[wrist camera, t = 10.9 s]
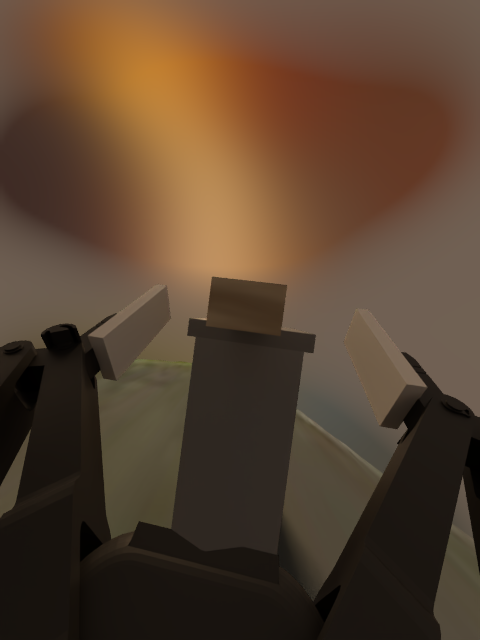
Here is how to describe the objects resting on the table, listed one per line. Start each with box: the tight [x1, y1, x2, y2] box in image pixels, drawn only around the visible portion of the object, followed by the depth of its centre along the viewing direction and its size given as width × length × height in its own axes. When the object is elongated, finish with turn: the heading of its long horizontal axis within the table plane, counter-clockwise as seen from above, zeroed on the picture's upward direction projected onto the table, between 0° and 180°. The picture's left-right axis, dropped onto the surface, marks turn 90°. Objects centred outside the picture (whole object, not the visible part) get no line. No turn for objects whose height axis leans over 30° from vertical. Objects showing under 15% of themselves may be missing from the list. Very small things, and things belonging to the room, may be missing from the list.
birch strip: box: [206, 277, 287, 336], centre depth 27 cm, size 28×4×3 cm, turn 175°
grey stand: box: [171, 318, 316, 555], centre depth 33 cm, size 18×14×30 cm
